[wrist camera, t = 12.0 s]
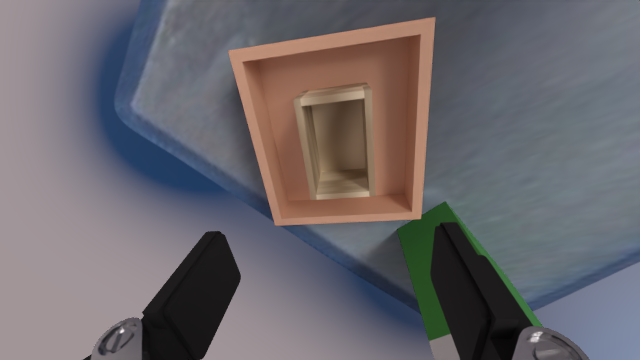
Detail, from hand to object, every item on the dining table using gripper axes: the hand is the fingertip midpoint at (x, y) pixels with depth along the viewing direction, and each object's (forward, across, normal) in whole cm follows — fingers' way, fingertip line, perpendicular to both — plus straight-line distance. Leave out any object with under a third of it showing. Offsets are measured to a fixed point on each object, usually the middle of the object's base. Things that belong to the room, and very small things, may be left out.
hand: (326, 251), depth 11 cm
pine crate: (+19, 0, 0) cm, 19 cm away
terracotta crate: (+20, 0, 0) cm, 20 cm away
